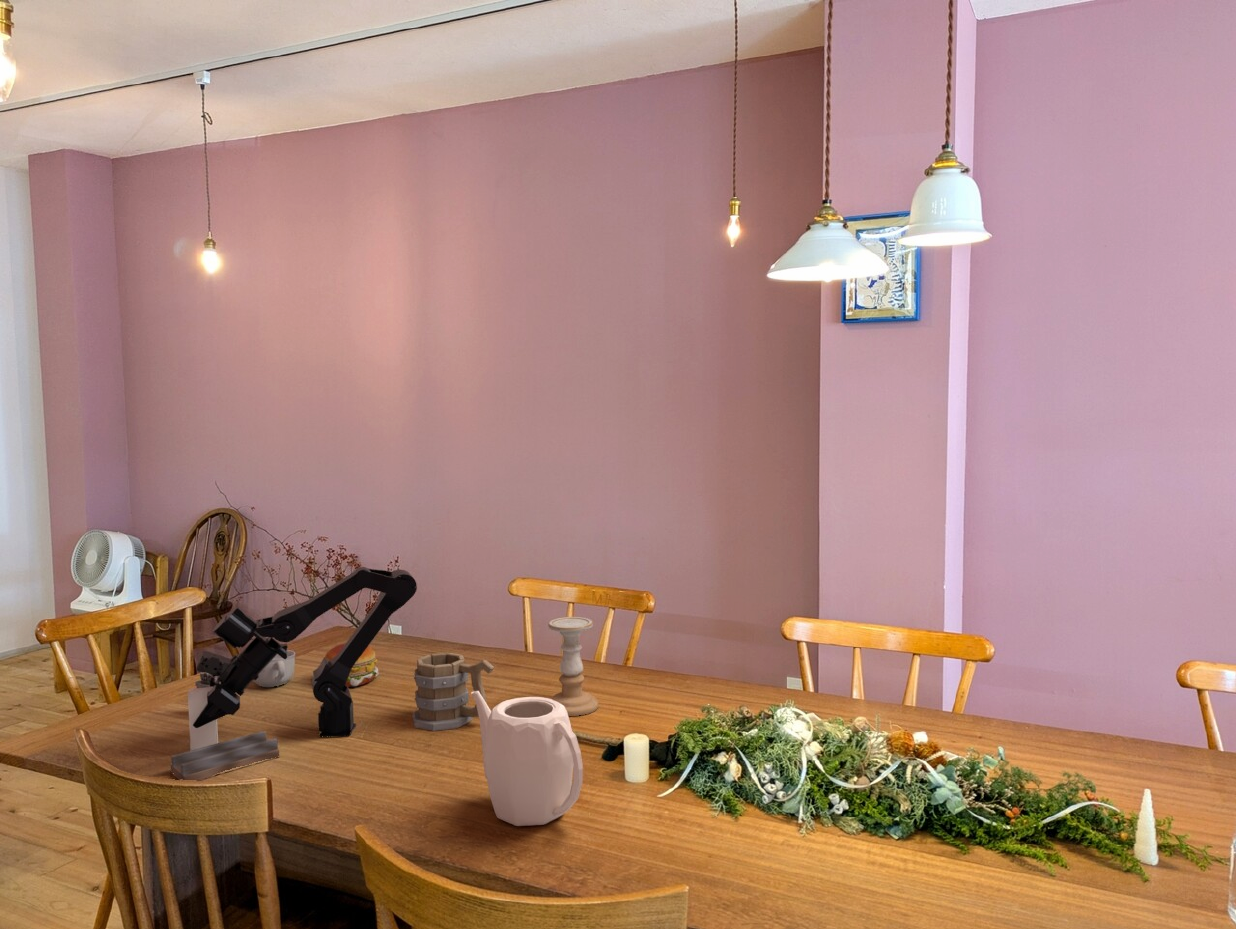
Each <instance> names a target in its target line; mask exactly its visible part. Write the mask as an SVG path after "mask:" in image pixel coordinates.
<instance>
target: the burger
mask: <svg viewBox="0 0 1236 929" xmlns="http://www.w3.org/2000/svg"><path fill="white" fill-rule="evenodd" d="M345 644H346V642H345V643H341V644H338V645H336V646H334V647H332V648H330V649H329V651H327V652H326V654H325V656H324V657H325V658H327V659H328V660H329V661H330V660H331V659H332V658H334V657H335V656H336V655H337V654H338V653H339V652H340V651H341V649H342V648H343V646H344V645H345ZM377 663H378V659H377V658H376V652H375V650H374V648H372V646H370V645H368V647H367V648H366V649H365V651H364V652H363V653H362V655H361V656H360V658H359V659H358V660H357V662H356V663H355V664H354V666H353V667H352V669H351V671H350V674H349V676H348V679H347V682H346V684H345V685H346V686H347V687H349V688H351V687H352V688H353V687H357V686H362V685H365V684H368V683H370V682H371V681H373V680H374V678H375V677H377V676H379V668H378V667H377V666H376V664H377Z"/></svg>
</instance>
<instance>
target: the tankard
mask: <svg viewBox="0 0 1236 929" xmlns="http://www.w3.org/2000/svg"><path fill="white" fill-rule="evenodd" d="M416 667H417V668H415V670H414V677H413V679H414V681H415V684H416V687H417V690H415V692H414V693H415V695H414V696H415V697H414V701H415V704H416V708H417V710H415V711H413V712H412V719H413V721H412V722H413V724H414V728H416V727H417V728H416V729H422V730H427V731H432V732H439V731H446V730H455V729H458V728H460V727H463V726H465V725H466V724H468V723H470V722H471V721H473V718H479V715H478V711H477V706H476V704H475V705H474V707H473V706H470V705H467V703H469V702H470V700H469V698H470V697H469V695H470V694H469V690H468V688H467V686H466V685H467V684H466V682H468V681H469V674H470V680H471V681H470V682H471V687H472V689H473V692H474V691H479V692H480V694H481V696H482V697H483V699H484V700H485V702H486V703H487V695H486V691H485V689H484V685H483V682H482V671H484V672H485V673H487V674H492V672H493V670H494V669H495V666H493V665H492V664H491V663H490V662H489V661H488V660H486V659H483V660H482V661H480V662H477V663H475V664H467V663H466V660H465V657H464V656H463V655H462V654H459V653H453V652H439V653H430V654H426V655H424V656H422V657H419V658H417V659H416Z"/></svg>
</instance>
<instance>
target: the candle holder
mask: <svg viewBox="0 0 1236 929" xmlns="http://www.w3.org/2000/svg"><path fill="white" fill-rule="evenodd" d="M593 626H594V621H593V620H592V619H590V618H587V617H581V616H567V617H566V616H565V617H559V618H554V619H551V620H549V621H548V624H547V627H548V629H550V630H551V631H554V632H558V633H559V635H560V636H562V638H563V642H562V644H560V646H559V649H561V650H562V656H561V661H560V663H559V671H560V672H561V673H562V674H561V675H560V676H559V677H558V682H560V684H561V691H560V692H557V693H555V694H554V695H553V696H551V697H549V699H552V700H554V701H557V702H559V703H560V704H562V705H564V707H565V709H566V711H567V713H568V717H579V715H581V716H585V714H586V715H588V714H589V715H590V714H591V713H594V712H595V711H597V710H598V708H599V705H600V704H599V701H598V699H597V697H595V696H594V695H591V694H590V693H588V692H586V691H583V687H582V683H583V682H584V681H585V677H584V675H583V674H582V673H581V672H583V670H584V664H583V661H582V657H581V654H580V652H581V651H580V650H582V648H583V645H582V644H581V643H580V642H579V638H580V636H581V635H582V633H583V632H585V631H588V630H590V629H592V628H593Z"/></svg>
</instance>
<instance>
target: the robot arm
mask: <svg viewBox="0 0 1236 929" xmlns="http://www.w3.org/2000/svg"><path fill="white" fill-rule="evenodd" d="M417 587H418V585H417V581H416V580H415V578H414V576H413V575H412V574H411V573H410V572H409V571H407V570H404V569H397V570H393V571H389V570H383V569H374V568H369V567H366V566H359V567H358V568H355V570H354V571H353V572H351V573H350V574H348V575H346V576H345V577H342V579H340V580H339V581H337V582H335V583H334V584H331V585H330V586H329V587H327V588H325V589H324V590H322V591H321V592H319V593H317V594H316V595H314V596H312V597H311V598H309V599H307V600H305V601H303V602H300V603H296V604H293V605H291V606H288V607H286V608H283V609H280V610H279V611H277V612H276V613H274V614H273V615H272V616H269V617H265V618H260V619H256V620H255V619H254V618H252V617H250V616H249V615H248V614H247V613H246V612H245V611H244V610H243V609H242V608H241V607H240V606H236V607H235V608H234V609H233V610H231V611H229V613H228V614H226V615H224V616H223V617H222V618H221V619H220V621H219V622H218V623H216V625H215V627H214V628H213V629H212V633H214V634H215V635H216V636H218V637H219V638H220V639H222V640H223V641H224V642H225V643H227V644H228V645H229V646H230V647H231V648H233V649H236V648H238V649H240V648H244V647H245V646H246V645H247V644H248V643H249V642H250V643H249V644H248V645H247V646H246V647H245V648H244V649H243V650H241V652H240V653H239V654H238V653H237V654H234V655H233V656H232V657H231V658H229V657H226V656H223V655H222V654H221V655H220V654H216V653H214V652H210V651H208V650H203V651H202V652H201V654H200V657H199V659H198V662H197V664H196V667H195V670H196V671H197V672H199V673H201V672H202V673H203V672H205V673H209V674H212V676H213V677H214V676H216V677H215V678H213V677H210V687H213V688H212V689H211V690H210V692H208V693H207V704H206V706H205V707H204V709H203V710H202V712H201V713H200V715H199V716H198V718H197V719H196V720H195V722H194V724H193V726H194V727H195V728H199V727H201V726H203V725H205V724H207V723H209V722H212V721H214V720H216V719H217V720H219V719H218V718H220V717H223V716H225V715H226V716H227V715H230V716H234V715H235V714H236V713H237V712H238V710H240V708H241V697H242V695H244V694H245V689H246V688H247V687H248V686H249V685H250V684H251V683H252V682H254V681H253V680H256V679H257V678H258V677H259V673H260V672H261V671H262V670H263V669H264V668H265V667H266V666H267V665H268V664H269V663H270V661H271V660H272V659H273V658H274V657H275V656H276V655H277V654H278V655H279V656H281V657H282V658H283V659H287V650H288V648H289V647H288V644H287V643H290V642H292V641H294V640H295V639H296V638H297V637H299V636H300V635H301V634H302V633H303V632H304V631H306V630H307V628H308V627H310V625H311V624H312V623H313V622H314V621H315V620H316V619H317V618H318V617H321V616H323V614H325V613H327V612H328V611H330V610H331V609H333V608H335V607H336V606H339V604H341V603H342V602H344V601H346V600H347V599H349V598H350V597H352V596H353V595H355V594H357V593H358V592H360V591H362V590H363V589H369V590H373V591H376V592H380V593H379V595H378V597H377V600H376V602H375V604H374V605H373V606H372V607H371V609H370V610H369V612H368V613H367V614H366V616H365V617H364V618H363V620H362V621H361V623H359V625H358V626H357V628H356V629H355V631H354V632H353V633H352V634H351V636H350V637H349V638H348V639H347V641H346V642H345V643H346V644H345V645H344V646H343V648H342V649H341V651H340V652H339V653H338V654H337V655H336V656H335V657H334V658H332V659H331V660H330V661H329V660H328V659H327V658H325V656H324V657H323V658H322V660H321V662H320V664H319V665H318V666H317V668H315V669H314V670H313V671H312V675H313V676H312V678H311V688H312V692H313V696H314V698H315V699H316V700H317V701H318V702H319V703H322V704H321V705H320V706H319V707H320V710H319V712H318V714H317V720H318V722H317V723H318V725H317V726H318V732H319V734H318V737H319V736H320V737H319V738H332V737H331V736H341V737H349V735H350V734H352V733H353V731H354V730H355V728H356V727H357V724H356V723H355V719H354V701H353V699H352V694H351V691H350V687H347V686H346V685H345V684H346V682H347V679H348V676H349V674H350V671H351V669H352V667H353V666H354V664H355V663H356V662H357V660H358V659H359V658H360V656H361V655H362V653H363V652H364V651H365V649H366V648H367V647H368V646H370V644H371V643H372V642H373V640H374V639H375V637H376V636H377V635H378V633H379V632H380V631H381V629H382V628H383V626H384V625H385V624H386V622H387V621H388V620H389V618H390V617H391V616H392V615H393V614H394V613H395V612H396V611H398V610H399V609H401V608H402V607H404V606H405V604H406V603H408V602H409V601H410V600H411V599H412V598H413V597H414V596H415V594H416V592H417V589H418V588H417ZM226 716H225V717H226ZM223 718H224V717H223ZM220 719H221V718H220ZM322 736H323V737H322ZM327 736H328V737H327ZM329 736H330V737H329ZM350 736H351V735H350Z"/></svg>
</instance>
